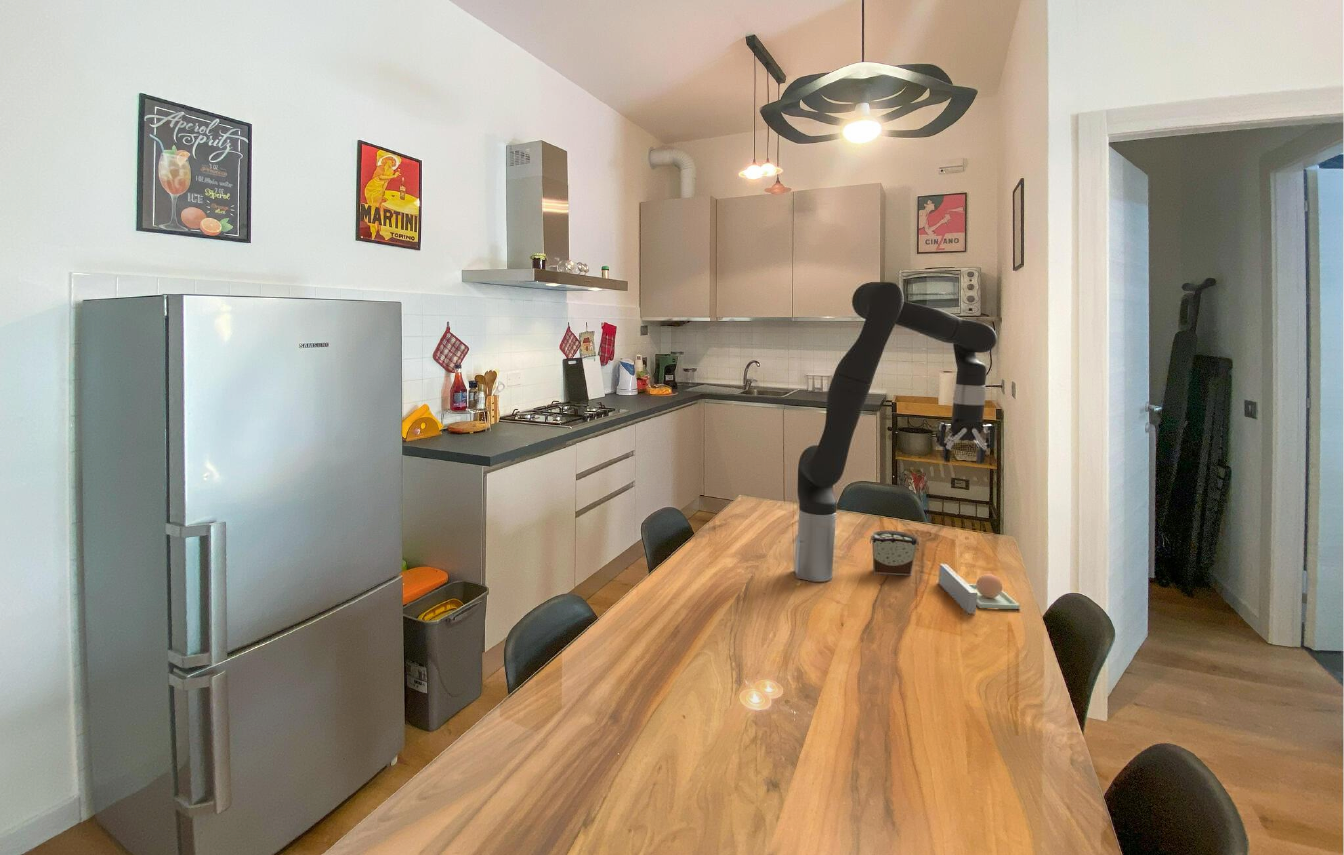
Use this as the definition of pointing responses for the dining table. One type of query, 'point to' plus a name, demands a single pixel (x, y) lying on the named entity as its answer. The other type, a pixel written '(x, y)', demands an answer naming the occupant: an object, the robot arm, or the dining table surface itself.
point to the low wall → (957, 588)
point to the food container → (893, 552)
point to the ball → (989, 586)
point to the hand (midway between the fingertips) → (963, 462)
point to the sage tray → (995, 601)
